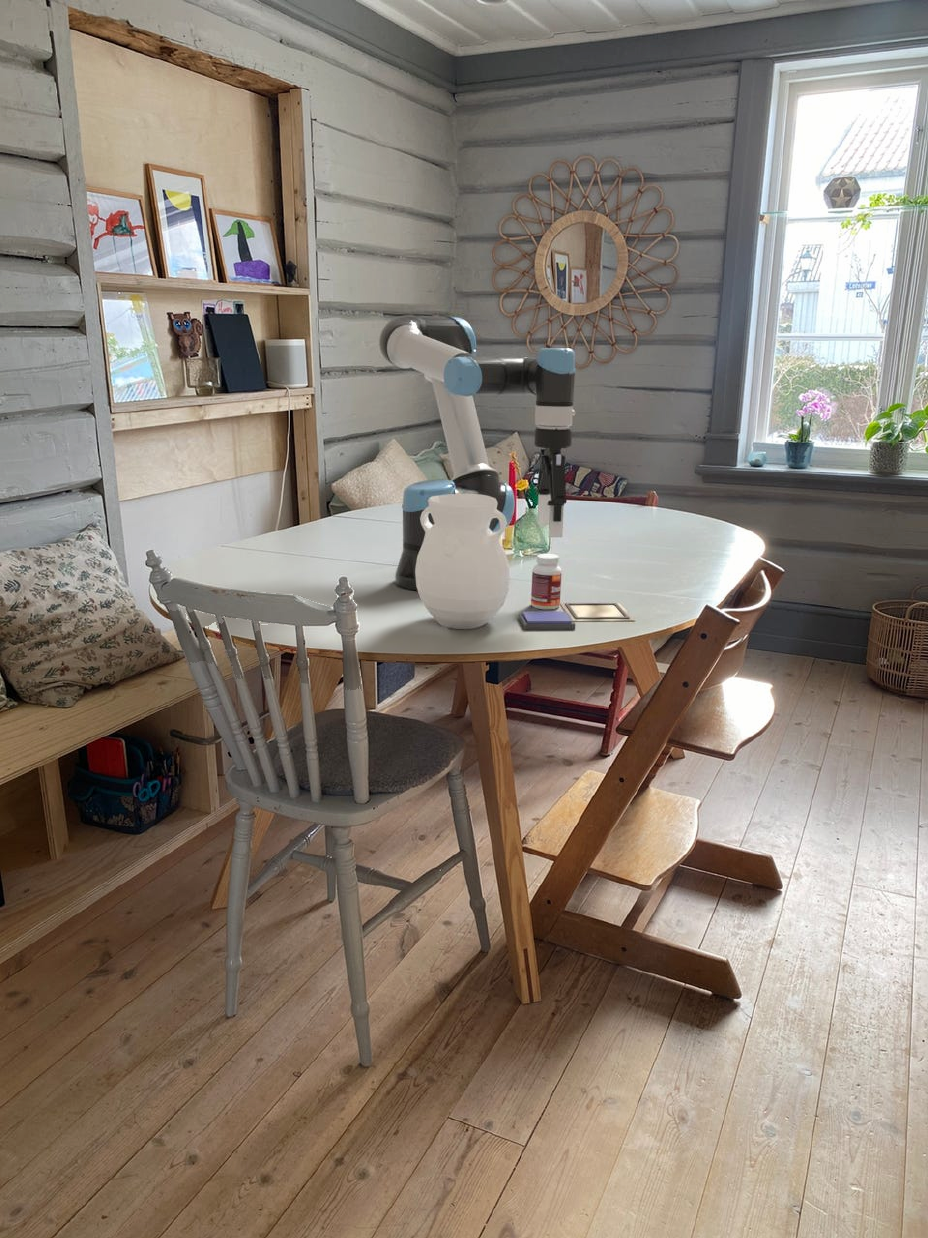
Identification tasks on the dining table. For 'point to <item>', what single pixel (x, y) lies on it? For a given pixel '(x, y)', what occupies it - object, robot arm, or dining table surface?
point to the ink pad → (546, 620)
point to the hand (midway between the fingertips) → (549, 530)
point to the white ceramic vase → (462, 561)
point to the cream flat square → (596, 612)
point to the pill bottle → (546, 582)
